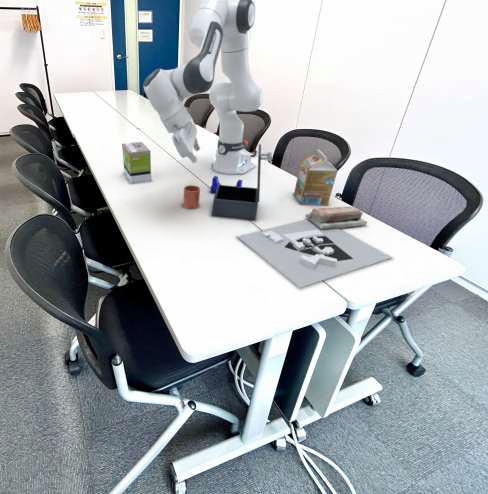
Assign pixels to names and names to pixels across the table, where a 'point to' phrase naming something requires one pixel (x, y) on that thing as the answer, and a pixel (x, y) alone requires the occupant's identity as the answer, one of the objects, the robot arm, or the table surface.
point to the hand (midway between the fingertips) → (196, 155)
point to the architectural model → (312, 251)
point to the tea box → (137, 162)
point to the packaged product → (336, 217)
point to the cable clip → (216, 182)
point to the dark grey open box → (235, 202)
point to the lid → (269, 157)
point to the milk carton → (315, 180)
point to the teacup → (191, 197)
